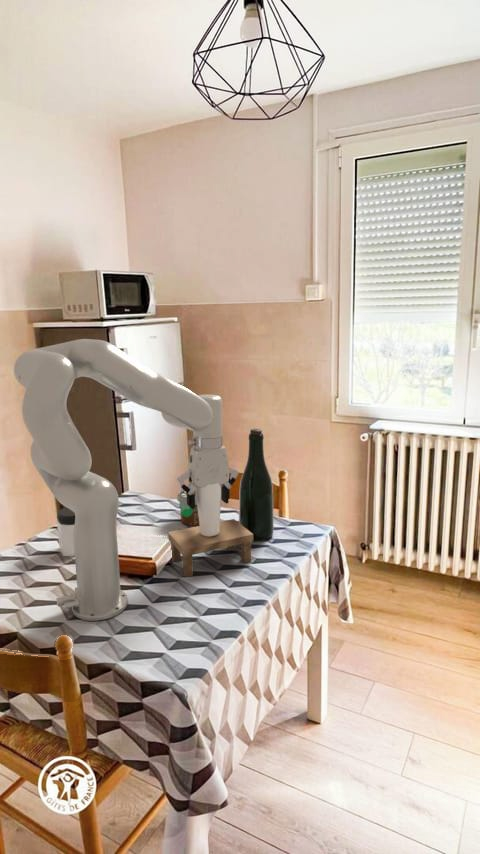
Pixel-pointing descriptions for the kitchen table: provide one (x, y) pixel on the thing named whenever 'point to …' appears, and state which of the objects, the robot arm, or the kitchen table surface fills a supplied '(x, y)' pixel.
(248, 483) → the dark green wine bottle
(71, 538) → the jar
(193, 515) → the food container
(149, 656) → the kitchen table surface
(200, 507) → the drinking glass
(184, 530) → the footstool
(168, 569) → the kitchen table surface
